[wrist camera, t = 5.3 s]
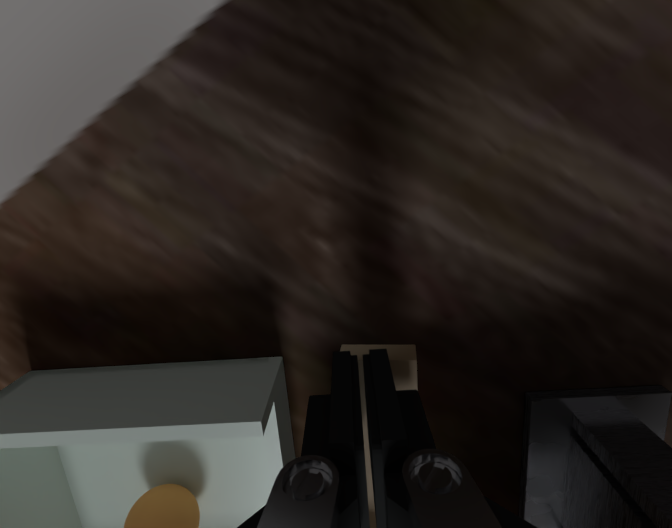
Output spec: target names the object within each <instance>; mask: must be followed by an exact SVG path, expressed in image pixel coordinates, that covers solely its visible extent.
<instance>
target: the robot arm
mask: <svg viewBox="0 0 672 528" xmlns="http://www.w3.org/2000/svg"><path fill="white" fill-rule="evenodd" d="M363 369H364V383H365V398H366V413H367V428H368V440H369V451H370V462H371V473H372V484H373V494H374V505H375V516H376V527H377V528H537V527H536V526H534V525H532V524H531V523H529V522H527V521H526V520H524V519H522V518H520V517H519V516H517V515H515V514H514V513H512V512H510V511H509V510H507V509H505V508H504V507H502V506H500V505H498V504H497V503H495V502H493V501H492V500H490V499H488V498H487V497H485V496H483V495H482V493H481V491H480V490H479V488H478V486H477V485H476V483H475V481H474V480H473V478H472V476H471V475H470V473H469V471H468V470H467V468H466V466H465V465H464V464H463V463H462V462H461V460H460V459H458V458H457V457H455V456H454V455H453V454H451V453H448V452H446V451H443V450H438V449H436V447H435V443H434V440H433V437H432V434H431V431H430V428H429V425H428V422H427V419H426V415H425V412H424V409H423V406H422V403H421V400H420V397H419V394H418V391H417V390H416V389H415V390H398V391H396V388H395V383H394V379H393V375H392V370H391V366H390V362H389V357H388V353H387V349H386V348H385V349H369V354H364V355H363ZM237 528H370V521H369V507H368V493H367V479H366V465H365V451H364V437H363V424H362V410H361V397H360V384H359V371H358V357H357V355H351V353H350V351H338V352H333V363H332V385H331V394H330V395H313V396H310V397H309V402H308V409H307V416H306V424H305V431H304V438H303V445H302V453H301V457H298V458H295V459H294V460H292V461H290V462H288V463H287V464H286V465H285V466H284V467H283V468H282V469H281V470H280V472H279V474H278V475H277V477H276V480H275V482H274V485H273V487H272V490H271V493H270V495H269V498H268V500H267V503H266V505H265V506H264V507H262V508H261V509H260V510H259V511H257V512H256V513H255V514H253V515H252V516H251V517H250V518H248V519H247V520H246V521H245V522H243V523H242V524H241V525H239V526H238V527H237Z"/></svg>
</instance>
